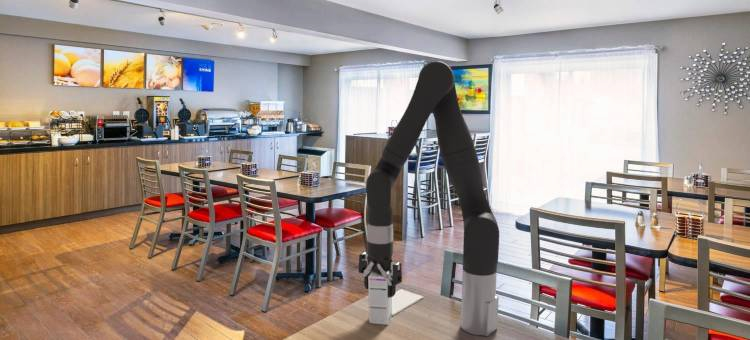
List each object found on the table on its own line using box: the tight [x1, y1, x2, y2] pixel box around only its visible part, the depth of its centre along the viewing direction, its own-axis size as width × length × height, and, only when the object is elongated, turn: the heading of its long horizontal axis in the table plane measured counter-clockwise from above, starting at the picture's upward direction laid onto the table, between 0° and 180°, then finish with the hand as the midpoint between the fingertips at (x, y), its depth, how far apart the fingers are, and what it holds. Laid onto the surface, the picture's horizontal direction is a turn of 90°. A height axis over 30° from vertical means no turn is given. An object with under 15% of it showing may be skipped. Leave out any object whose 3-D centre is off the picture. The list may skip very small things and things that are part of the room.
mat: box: [391, 288, 425, 317], centre depth 148 cm, size 9×16×1 cm, turn 140°
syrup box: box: [368, 271, 393, 326], centre depth 136 cm, size 6×6×14 cm
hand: (379, 292), depth 136 cm, fingers open, 8 cm apart
